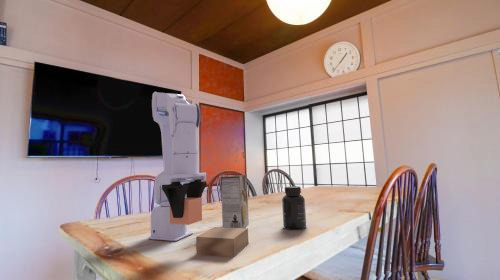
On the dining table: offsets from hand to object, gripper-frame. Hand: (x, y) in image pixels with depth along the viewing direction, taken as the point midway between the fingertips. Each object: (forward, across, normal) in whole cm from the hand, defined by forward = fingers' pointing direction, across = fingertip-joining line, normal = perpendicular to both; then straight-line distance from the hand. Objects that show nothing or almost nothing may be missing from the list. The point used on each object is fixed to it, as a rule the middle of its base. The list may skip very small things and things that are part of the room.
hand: (186, 215), depth 56 cm
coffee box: (+9, +25, 0) cm, 27 cm away
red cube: (+2, 0, 0) cm, 2 cm away
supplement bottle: (+9, +29, -18) cm, 35 cm away
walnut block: (+9, +6, -6) cm, 12 cm away
